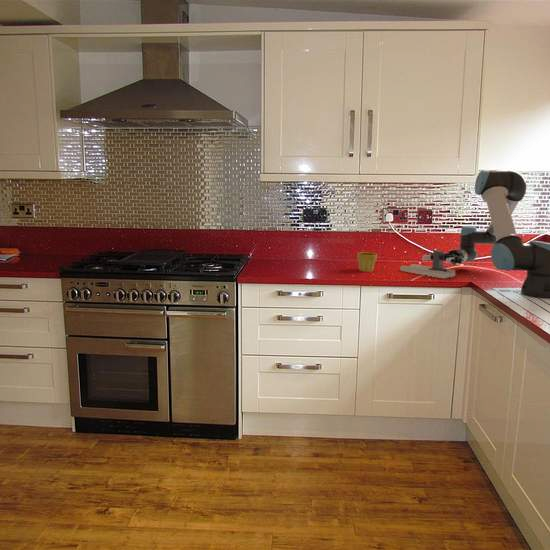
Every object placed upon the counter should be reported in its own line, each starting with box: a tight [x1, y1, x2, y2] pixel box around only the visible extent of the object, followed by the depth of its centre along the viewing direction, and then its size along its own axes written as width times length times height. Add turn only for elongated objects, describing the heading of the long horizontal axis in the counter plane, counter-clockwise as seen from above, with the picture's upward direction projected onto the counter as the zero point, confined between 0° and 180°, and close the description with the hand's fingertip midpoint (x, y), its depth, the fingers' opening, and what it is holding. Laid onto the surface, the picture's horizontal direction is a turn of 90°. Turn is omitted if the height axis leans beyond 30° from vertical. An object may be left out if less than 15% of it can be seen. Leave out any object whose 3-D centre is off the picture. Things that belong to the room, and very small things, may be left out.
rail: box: [399, 263, 456, 279], centre depth 265 cm, size 26×10×3 cm, turn 40°
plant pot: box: [356, 251, 378, 273], centre depth 270 cm, size 10×10×10 cm
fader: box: [428, 249, 447, 272], centre depth 260 cm, size 6×7×10 cm
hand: (434, 259), depth 258 cm, fingers open, 13 cm apart
